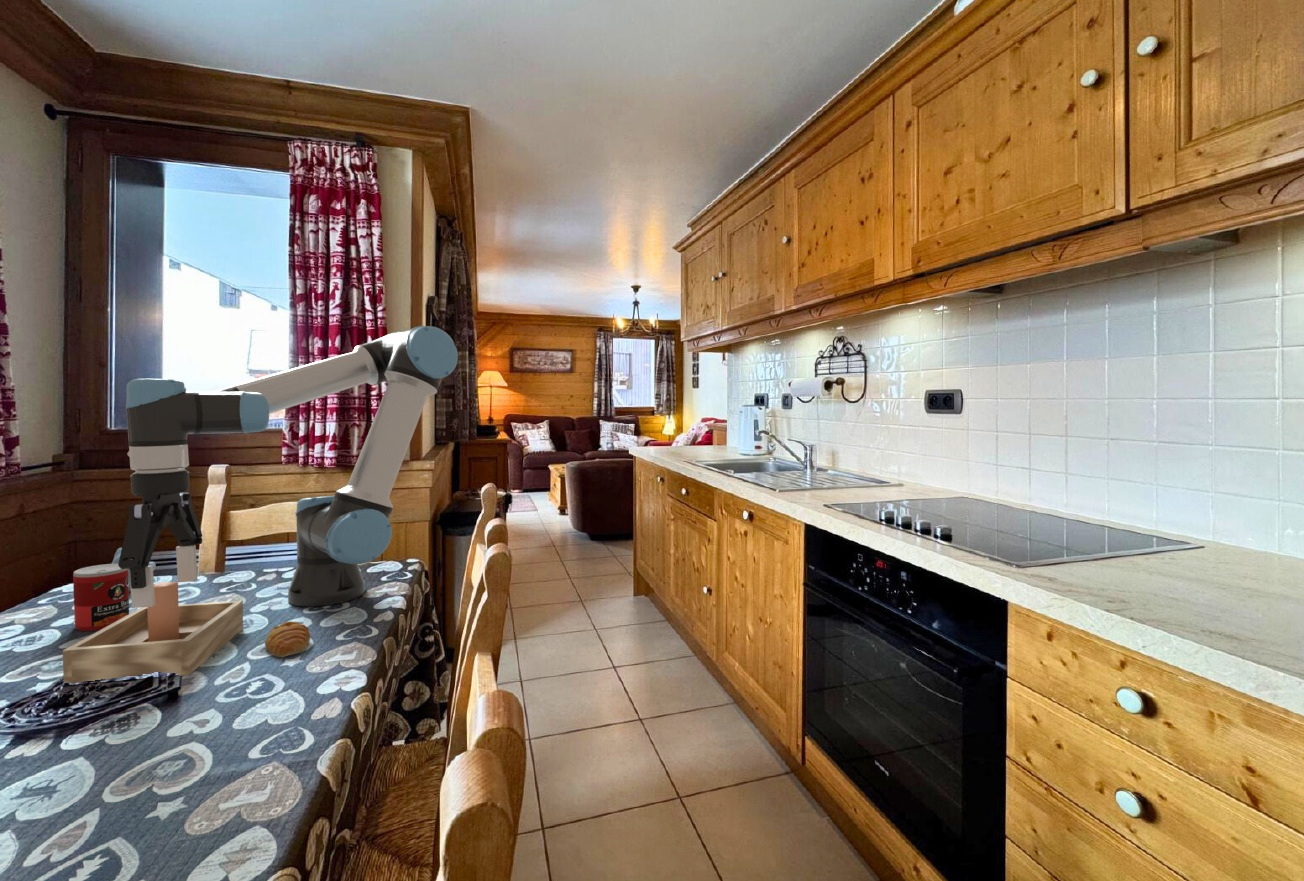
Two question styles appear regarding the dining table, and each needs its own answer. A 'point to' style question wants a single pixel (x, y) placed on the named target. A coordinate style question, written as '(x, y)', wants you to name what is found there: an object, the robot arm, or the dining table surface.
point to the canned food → (100, 596)
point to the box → (153, 644)
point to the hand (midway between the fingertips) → (167, 593)
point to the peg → (164, 613)
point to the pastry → (287, 639)
